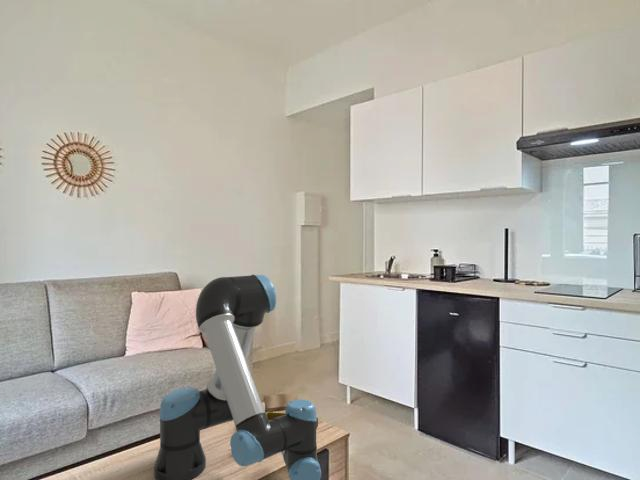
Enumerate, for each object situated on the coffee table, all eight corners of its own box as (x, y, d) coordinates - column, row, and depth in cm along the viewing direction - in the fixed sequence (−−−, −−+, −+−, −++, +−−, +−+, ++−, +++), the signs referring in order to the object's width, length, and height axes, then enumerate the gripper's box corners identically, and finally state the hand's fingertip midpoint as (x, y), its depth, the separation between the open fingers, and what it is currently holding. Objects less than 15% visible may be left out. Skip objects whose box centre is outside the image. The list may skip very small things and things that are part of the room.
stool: (267, 435, 147) (267, 408, 147) (263, 421, 159) (263, 396, 159) (300, 431, 150) (300, 404, 150) (293, 417, 162) (293, 392, 162)
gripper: (248, 468, 108) (242, 433, 129) (338, 454, 115) (318, 422, 135) (248, 439, 108) (242, 409, 129) (337, 427, 115) (318, 399, 135)
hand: (281, 416), depth 132 cm, fingers open, 13 cm apart
